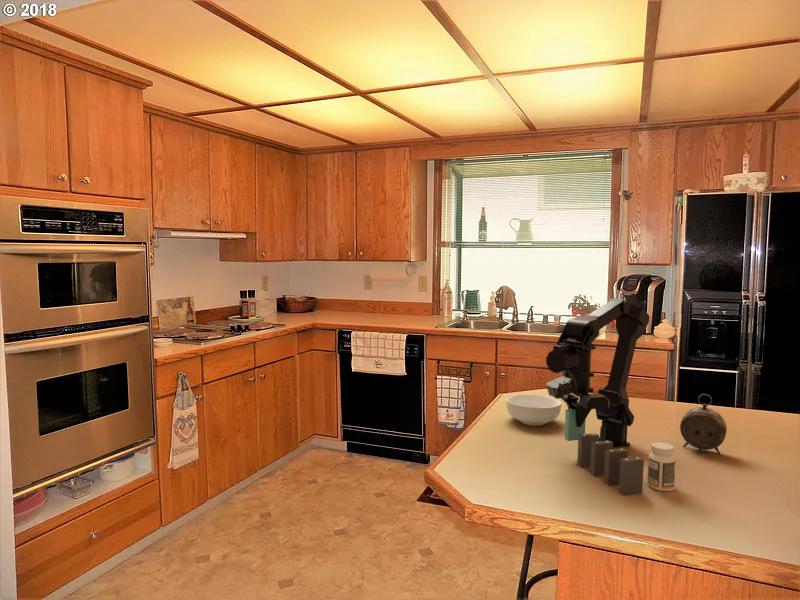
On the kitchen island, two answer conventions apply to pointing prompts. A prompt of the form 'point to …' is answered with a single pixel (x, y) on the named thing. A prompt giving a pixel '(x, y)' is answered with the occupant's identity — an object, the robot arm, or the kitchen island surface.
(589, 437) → the domino
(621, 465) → the domino
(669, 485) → the pill bottle
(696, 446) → the alarm clock
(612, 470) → the domino
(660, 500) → the kitchen island surface
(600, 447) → the domino
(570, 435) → the domino
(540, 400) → the cereal bowl
